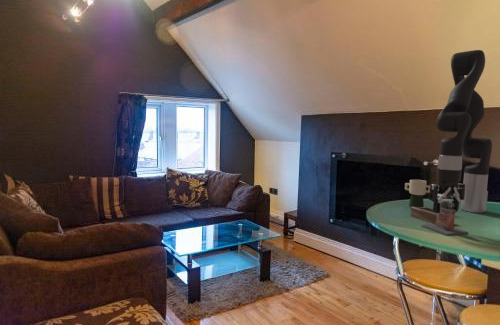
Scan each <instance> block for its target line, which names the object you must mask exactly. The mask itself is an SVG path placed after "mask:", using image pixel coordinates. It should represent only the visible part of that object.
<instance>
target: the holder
mask: <svg viewBox="0 0 500 325" xmlns="http://www.w3.org/2000/svg"><path fill="white" fill-rule="evenodd" d="M410 217H413V218H415V219H418V220H420V221H421V220H422V221H424V222H427V223H430V224H435V223H436V219H437V213H435V212H434V211H433V207H432V208H431V207H428V206H424V207H417V208H416V207H410Z"/></svg>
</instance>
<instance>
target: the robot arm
mask: <svg viewBox="0 0 500 325" xmlns="http://www.w3.org/2000/svg"><path fill="white" fill-rule="evenodd" d="M450 59H451V60H450V70H451V74H452V78H453V83H454V87H453V89H451V91H450V94H449V95H448V96H449V97H448V100H447V103H446V104H445V105H444V108H443V109H442V110H441V111H440V112H439V114H438V116H437V118H436V121H435V122H436V123H435V125H436V128H437V130H439V131H440V132H444V133H445V132H446V133H448V132H449V133H451V132H452V133H456V135H455V136H454V137H447V138H443V139H441V141H440V145H439V156H438V160H437V172H436V180H437V181H438V183H437V184H434V183H431V184H430V185H429V186H430V193H428V194H429V195H428V200H429V201H431V202H433V207H432V209H433V211H434V212H435V213H440V206H441V201H443V199H445V198H446V197H450V198H451V199H452V202H451V203H453V204H454V207H451V209H454V210H456V213H457V212H458V211H459V208H460V210H462V211H465V212H470V213H477V214H478V213H479V214H481V213H485V212H486V211H487V206H488V196H489V195H488V194H489V191H488V190H487V189H488V181H489V172H490V171H489V170H490V163H491V156H492V151H493V150H492V149H493V142H492V140H491V139H490V138H485V137H484V138H481V137H479V138H478V137H472V136H473V135H472V134H473V132H474V130H475V129H476V127H478V125H479V124H480V123H481V121H482V120H483V118H484V116H485V105H484V99H483V97H482V96H481V95H480V94H479V93H478V92H477V91H476V90H475V88H476V86H477V84H478V82H479V80H480V79H481V76H482V75H483V73H484V69H485V66H486V56H485V52H484V51H483V50H481V49H475V50H467V51H461V52H456V53H454V54H452V56H451V58H450ZM463 156H464V157H465V158H468V159H479V162H477V163H475V164H472V165H467V166H464V172H463V183H461V180H462V170H463V169H462V168H463ZM460 202H461V205H460Z"/></svg>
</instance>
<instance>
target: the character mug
mask: <svg viewBox="0 0 500 325" xmlns="http://www.w3.org/2000/svg"><path fill="white" fill-rule="evenodd" d="M427 188H428V189H427ZM404 190H405V191H408V192H409V194H411V196H410V197H409V203H408V206H409V207H410V208H411V207H416V208H417V207H425V206H424V205H425V204H424V197H423V196H424V195H426V194H429V193H430V185H427V180H425V179H424V180H422V179H410V180H409V182H405V183H404Z"/></svg>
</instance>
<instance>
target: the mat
mask: <svg viewBox="0 0 500 325" xmlns="http://www.w3.org/2000/svg"><path fill="white" fill-rule="evenodd" d="M421 227H422V228H424V229H427V230H430V231H432V232H435V233H438V234H442V235H444V236H456V235H463V234H464V235H466V234H469V231H467V230H465V229H460V228H458V227H455V226H454V231H446V230H443V229H441V228H439V227H437V226H435V224H433V223H430V224H421Z"/></svg>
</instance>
